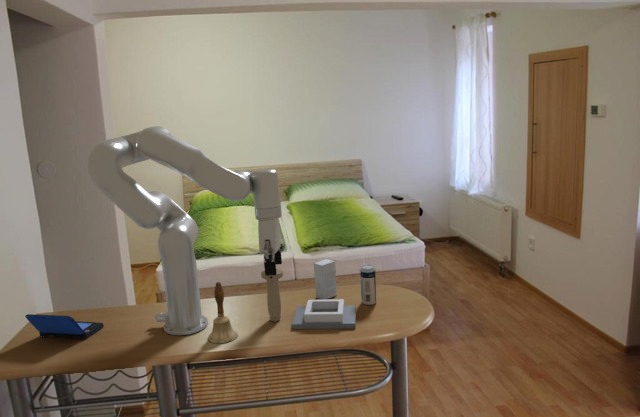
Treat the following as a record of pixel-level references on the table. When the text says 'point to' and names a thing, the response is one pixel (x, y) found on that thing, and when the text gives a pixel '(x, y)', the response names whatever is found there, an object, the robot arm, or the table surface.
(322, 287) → the skincare box
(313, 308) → the socket board
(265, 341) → the table surface
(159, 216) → the robot arm
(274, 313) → the handle
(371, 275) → the beer can
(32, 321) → the handheld game console
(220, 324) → the hand bell
